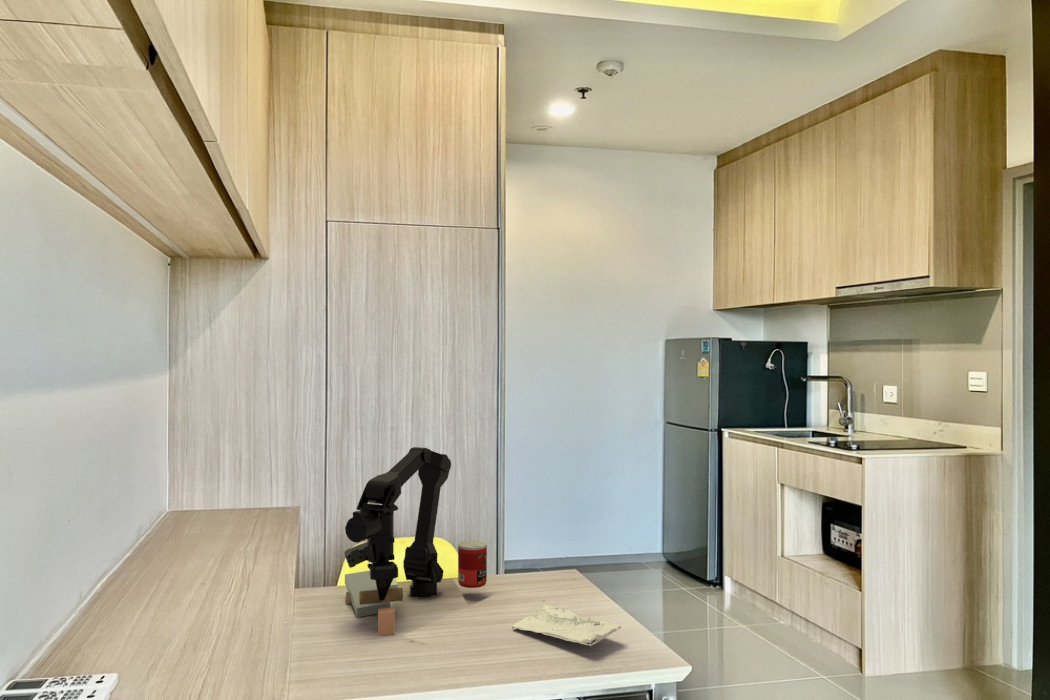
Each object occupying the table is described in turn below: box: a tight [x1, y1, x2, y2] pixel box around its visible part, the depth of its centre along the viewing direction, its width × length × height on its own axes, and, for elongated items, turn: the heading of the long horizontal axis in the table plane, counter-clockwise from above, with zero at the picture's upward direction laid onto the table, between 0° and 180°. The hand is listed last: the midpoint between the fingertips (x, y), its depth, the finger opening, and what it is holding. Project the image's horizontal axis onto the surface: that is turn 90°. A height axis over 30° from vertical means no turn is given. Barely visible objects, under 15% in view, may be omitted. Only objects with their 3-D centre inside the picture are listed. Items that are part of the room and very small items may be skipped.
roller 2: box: [359, 587, 404, 605], centre depth 169 cm, size 10×3×3 cm, turn 106°
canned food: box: [457, 540, 488, 589], centre depth 196 cm, size 8×8×11 cm
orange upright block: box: [377, 607, 396, 637], centre depth 161 cm, size 4×2×5 cm
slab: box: [344, 570, 391, 618], centre depth 179 cm, size 8×16×2 cm, turn 24°
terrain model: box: [511, 604, 622, 647], centre depth 164 cm, size 17×23×5 cm
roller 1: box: [345, 591, 352, 605], centre depth 182 cm, size 11×3×3 cm, turn 106°
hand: (381, 597), depth 169 cm, fingers closed on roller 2, 3 cm apart
